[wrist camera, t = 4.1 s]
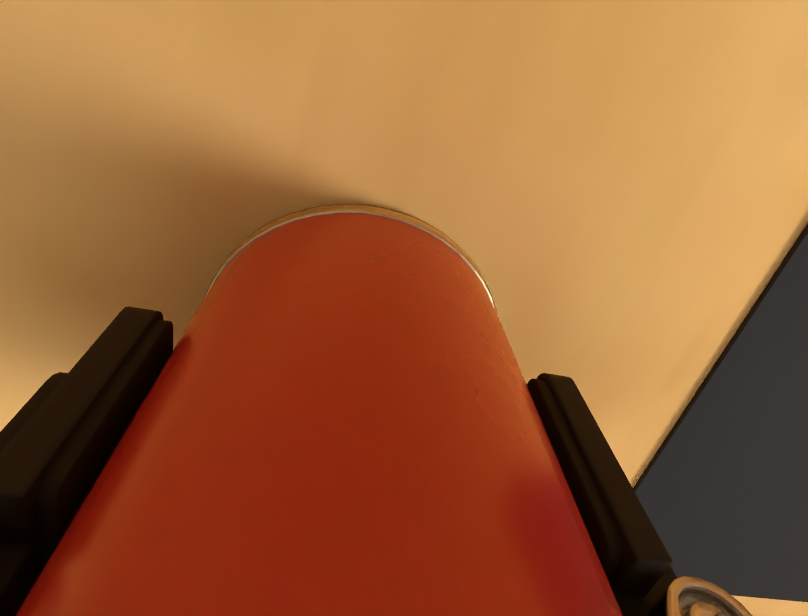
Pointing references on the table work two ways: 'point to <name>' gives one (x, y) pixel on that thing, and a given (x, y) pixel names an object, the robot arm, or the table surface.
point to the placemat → (744, 455)
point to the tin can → (333, 449)
